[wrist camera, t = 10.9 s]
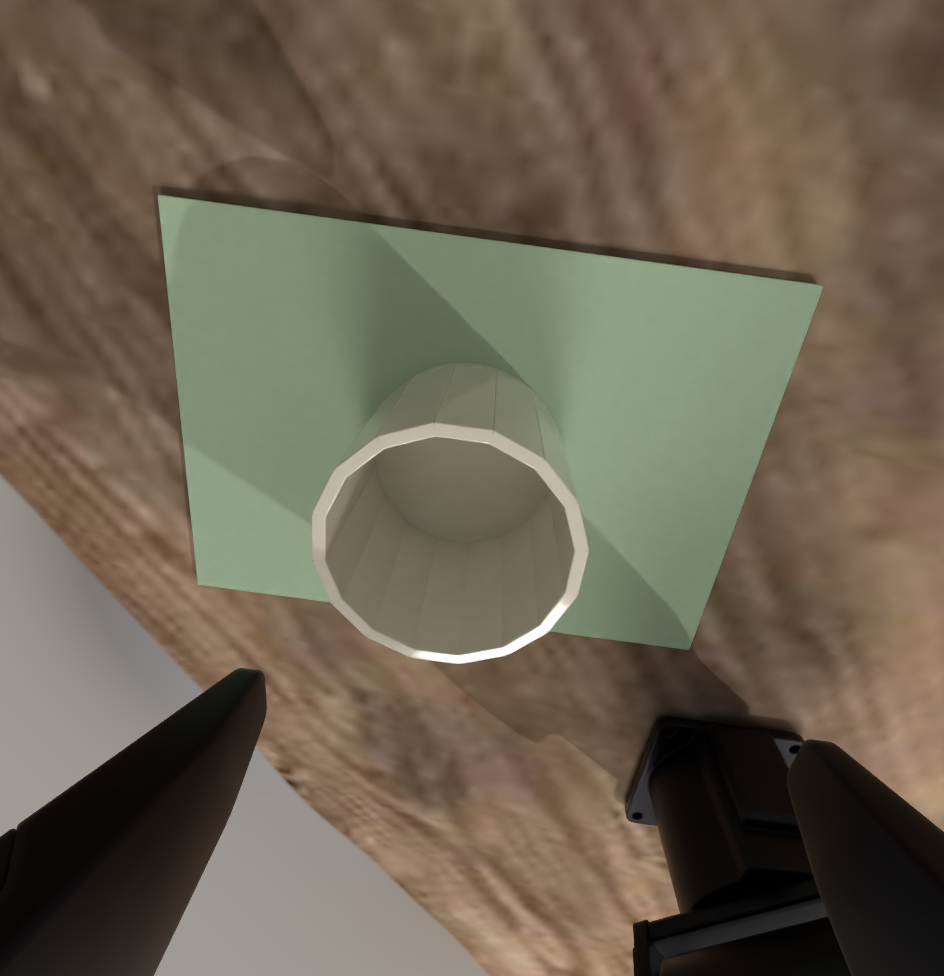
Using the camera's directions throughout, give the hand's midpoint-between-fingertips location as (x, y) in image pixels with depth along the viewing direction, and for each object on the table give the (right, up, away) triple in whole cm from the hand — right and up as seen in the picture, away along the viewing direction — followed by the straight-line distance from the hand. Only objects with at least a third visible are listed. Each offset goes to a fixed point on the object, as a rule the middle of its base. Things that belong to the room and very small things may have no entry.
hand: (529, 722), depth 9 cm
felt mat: (-1, +5, +10) cm, 12 cm away
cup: (-1, +5, +10) cm, 11 cm away
